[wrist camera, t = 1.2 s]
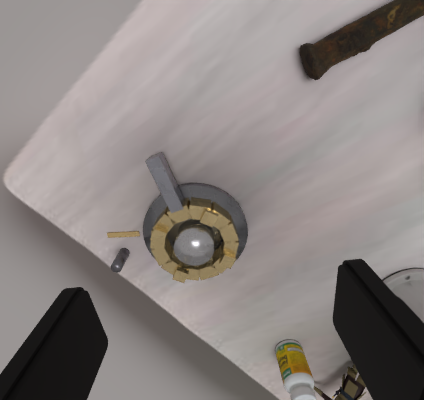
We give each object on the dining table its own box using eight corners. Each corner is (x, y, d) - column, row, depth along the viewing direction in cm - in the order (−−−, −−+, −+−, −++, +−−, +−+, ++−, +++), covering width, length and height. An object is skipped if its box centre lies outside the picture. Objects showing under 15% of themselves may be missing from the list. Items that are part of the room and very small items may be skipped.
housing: (259, 254, 41) (265, 275, 36) (143, 290, 44) (135, 313, 39) (226, 167, 35) (229, 178, 30) (95, 215, 38) (79, 232, 33)
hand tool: (304, 82, 31) (319, 81, 27) (294, 48, 29) (309, 41, 25) (467, 3, 28) (513, -13, 24) (465, -39, 26) (514, -64, 22)
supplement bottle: (296, 358, 51) (314, 413, 43) (271, 355, 51) (284, 409, 42) (305, 340, 49) (325, 394, 40) (279, 337, 49) (294, 390, 40)
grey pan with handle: (246, 254, 39) (249, 270, 36) (175, 276, 41) (171, 293, 38) (200, 136, 32) (198, 141, 28) (115, 169, 34) (104, 178, 30)
